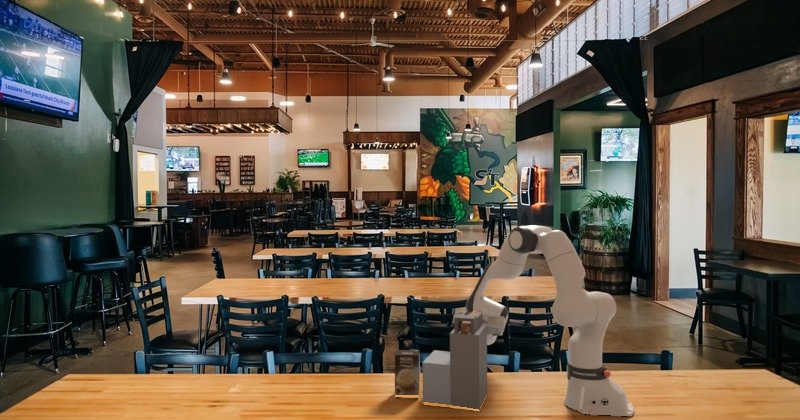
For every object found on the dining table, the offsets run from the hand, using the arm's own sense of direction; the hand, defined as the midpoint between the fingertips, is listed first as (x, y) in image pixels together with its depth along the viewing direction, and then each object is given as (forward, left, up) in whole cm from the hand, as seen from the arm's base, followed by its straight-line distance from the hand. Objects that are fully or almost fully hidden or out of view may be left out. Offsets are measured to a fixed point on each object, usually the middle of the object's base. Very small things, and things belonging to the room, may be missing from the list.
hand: (476, 315), depth 198 cm
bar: (0, +8, -2) cm, 8 cm away
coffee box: (+23, +15, -28) cm, 40 cm away
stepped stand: (+5, +14, -28) cm, 32 cm away
